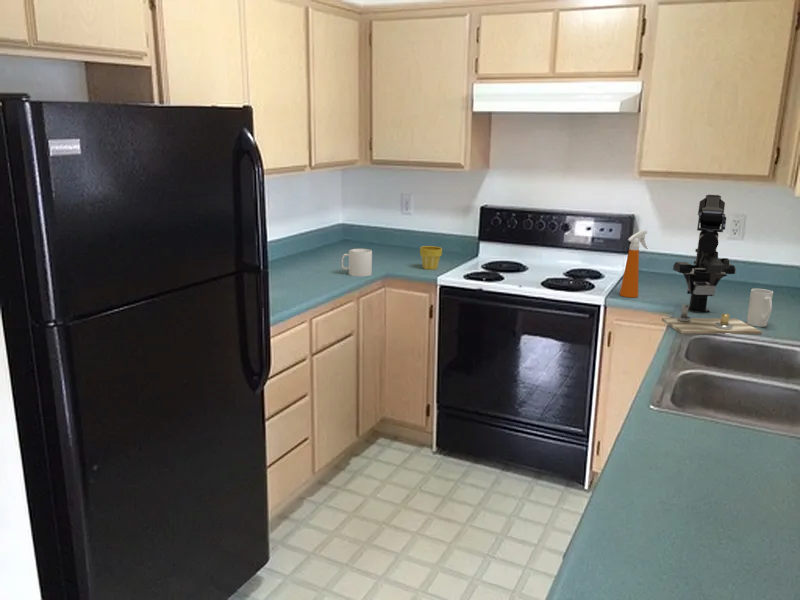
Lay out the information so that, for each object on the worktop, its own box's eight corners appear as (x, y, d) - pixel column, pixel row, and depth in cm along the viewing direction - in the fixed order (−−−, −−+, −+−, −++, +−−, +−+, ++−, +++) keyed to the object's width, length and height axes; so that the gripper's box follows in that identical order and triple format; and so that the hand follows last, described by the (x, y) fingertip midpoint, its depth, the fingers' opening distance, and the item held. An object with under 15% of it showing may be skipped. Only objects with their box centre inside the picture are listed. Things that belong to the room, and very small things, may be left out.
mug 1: (341, 276, 288) (341, 252, 285) (341, 271, 298) (341, 248, 295) (372, 276, 289) (372, 252, 286) (371, 271, 299) (371, 248, 296)
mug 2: (741, 321, 232) (747, 288, 229) (760, 321, 232) (766, 288, 229) (757, 329, 222) (763, 295, 219) (777, 330, 222) (783, 295, 219)
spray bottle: (648, 296, 265) (656, 231, 259) (628, 298, 261) (636, 232, 254) (635, 292, 271) (642, 228, 265) (615, 294, 267) (622, 230, 260)
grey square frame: (687, 290, 225) (688, 281, 224) (705, 290, 225) (706, 281, 224) (695, 294, 219) (696, 285, 218) (714, 294, 219) (715, 286, 218)
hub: (712, 325, 222) (714, 312, 221) (727, 325, 223) (729, 312, 222) (720, 329, 217) (722, 316, 216) (735, 329, 218) (737, 316, 217)
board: (661, 320, 230) (662, 318, 230) (736, 321, 231) (736, 318, 231) (681, 333, 215) (681, 330, 215) (761, 334, 217) (761, 331, 217)
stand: (674, 318, 229) (676, 303, 228) (686, 318, 229) (688, 303, 228) (680, 322, 225) (682, 306, 224) (692, 322, 225) (694, 306, 224)
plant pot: (445, 267, 311) (446, 247, 309) (434, 271, 303) (435, 250, 300) (426, 265, 316) (427, 245, 314) (415, 268, 308) (415, 247, 306)
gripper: (690, 251, 210) (683, 298, 214) (747, 252, 211) (740, 299, 215) (675, 245, 221) (669, 290, 225) (730, 246, 221) (723, 291, 225)
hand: (700, 292), depth 222 cm, fingers closed on grey square frame, 6 cm apart
